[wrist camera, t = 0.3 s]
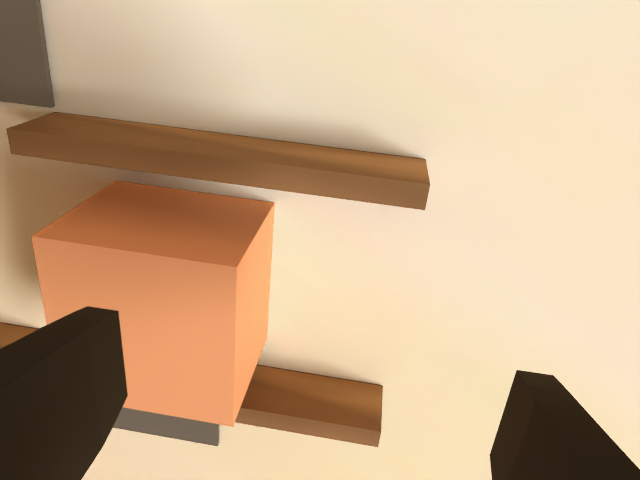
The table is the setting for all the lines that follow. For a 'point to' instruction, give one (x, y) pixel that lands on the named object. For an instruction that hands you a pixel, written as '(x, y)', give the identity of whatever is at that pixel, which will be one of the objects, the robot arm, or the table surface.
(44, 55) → the mats
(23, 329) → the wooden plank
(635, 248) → the table surface
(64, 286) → the block
